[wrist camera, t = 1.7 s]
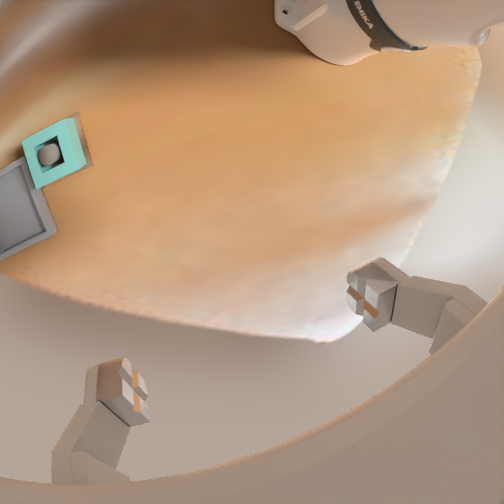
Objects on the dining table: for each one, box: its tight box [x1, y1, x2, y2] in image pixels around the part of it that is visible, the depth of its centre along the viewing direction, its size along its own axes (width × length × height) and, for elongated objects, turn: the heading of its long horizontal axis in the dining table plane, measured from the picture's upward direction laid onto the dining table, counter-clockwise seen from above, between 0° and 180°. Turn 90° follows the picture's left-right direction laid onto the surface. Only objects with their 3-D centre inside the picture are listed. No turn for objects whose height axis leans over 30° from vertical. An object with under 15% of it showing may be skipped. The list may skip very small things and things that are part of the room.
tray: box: [0, 156, 58, 261], centre depth 25 cm, size 11×11×2 cm
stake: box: [29, 112, 93, 187], centre depth 24 cm, size 7×7×5 cm
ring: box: [22, 118, 87, 190], centre depth 24 cm, size 6×6×4 cm
